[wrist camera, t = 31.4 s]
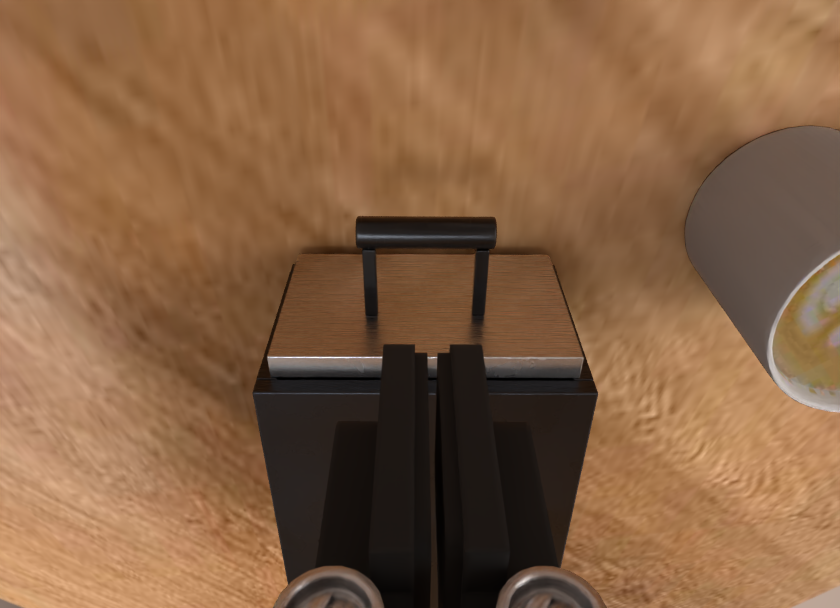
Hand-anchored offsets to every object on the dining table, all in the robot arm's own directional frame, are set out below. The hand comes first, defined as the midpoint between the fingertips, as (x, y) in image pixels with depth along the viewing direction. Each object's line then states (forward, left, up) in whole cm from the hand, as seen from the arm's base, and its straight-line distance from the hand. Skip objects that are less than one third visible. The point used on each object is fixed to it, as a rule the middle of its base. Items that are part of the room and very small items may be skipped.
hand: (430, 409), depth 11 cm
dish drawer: (+11, +10, -22) cm, 27 cm away
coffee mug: (-9, +20, -23) cm, 32 cm away
